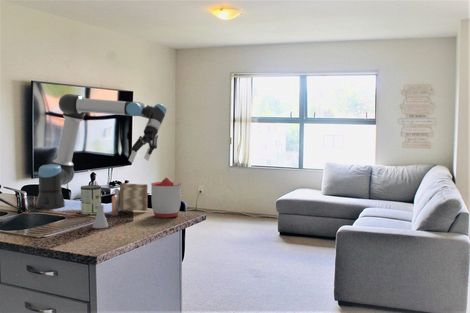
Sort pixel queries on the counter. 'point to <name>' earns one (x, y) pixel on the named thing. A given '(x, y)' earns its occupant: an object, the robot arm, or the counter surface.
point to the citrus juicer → (166, 198)
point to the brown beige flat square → (133, 197)
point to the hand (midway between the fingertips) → (138, 160)
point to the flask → (100, 218)
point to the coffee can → (90, 199)
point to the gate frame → (116, 202)
